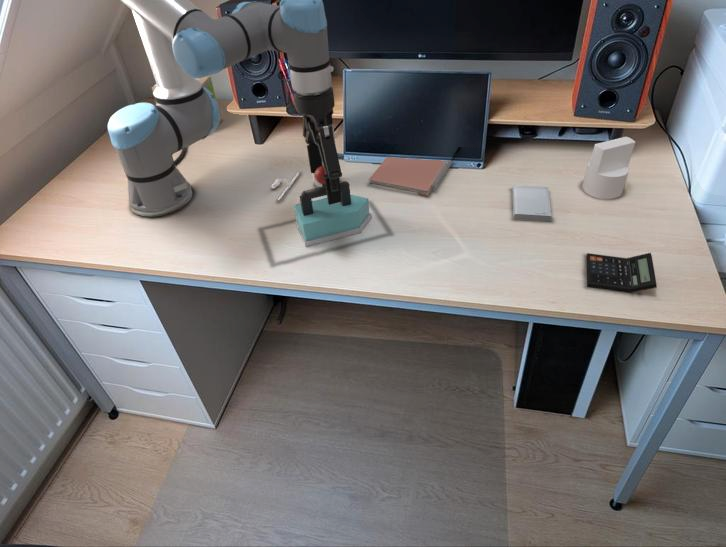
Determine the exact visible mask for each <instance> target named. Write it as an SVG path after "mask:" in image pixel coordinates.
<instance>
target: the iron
mask: <svg viewBox="0 0 726 547" xmlns="http://www.w3.org/2000/svg"><path fill="white" fill-rule="evenodd" d="M323 175H326V173H325V169H324V166H321V167H319V168H317V170H316V171H315V179H316V180H317V182H319V183H320V184H322V187H318V188H317V187H314V188H310V189H306V190H303V191H302V192H301V194H300V195H299V203H298V204H294V214H295V218H296V220H294V222H295V226H296V229H297V230H298V233H299V235H300V237H301V240H302V242H303V244H304V247H305V248H307V247H311V246H315V245H319V244H322V243H326V242H329V241H334V240H338V239H342V238H345V237H349V236H354V235H357V234H360V233H362V231H363V230H364V229H365V227H366V226H367V224H368V223H369V222H370V220H371V219H372V218H373V215H372V213H371V212H370V202H369V201H370V200H369V198H368V197H363V196H360V195H355V194H351V188H350V187H351V186H350V183H349V182H348V181H347V180H345V181H339V182H340V191H341V200H342V202H339V203H335V204H331V205H329V204H328V199H327V197H325V196H327V191H326V184H325V179H323ZM321 197H324V198H321ZM317 198H318V199H317ZM312 199H315V200H312Z"/></svg>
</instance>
